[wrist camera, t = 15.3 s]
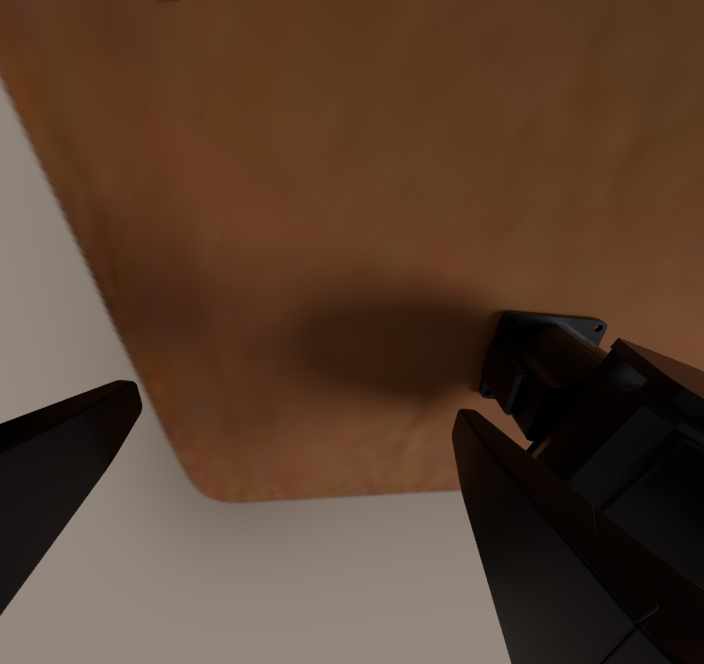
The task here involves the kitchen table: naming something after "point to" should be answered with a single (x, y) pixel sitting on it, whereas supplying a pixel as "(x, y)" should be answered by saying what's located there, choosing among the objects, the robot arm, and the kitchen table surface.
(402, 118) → the kitchen table surface
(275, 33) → the kitchen table surface
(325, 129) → the kitchen table surface
